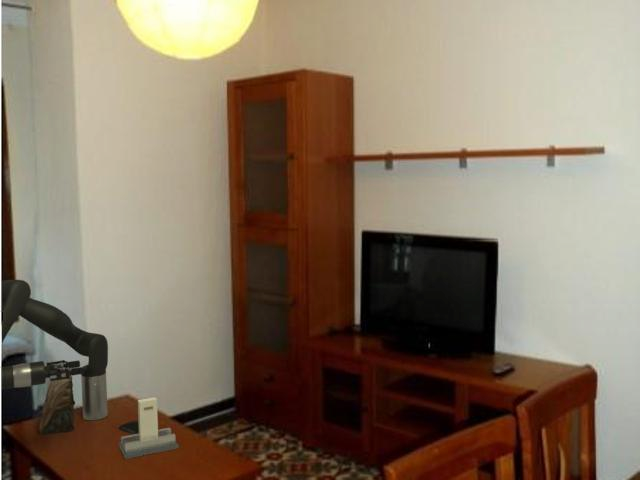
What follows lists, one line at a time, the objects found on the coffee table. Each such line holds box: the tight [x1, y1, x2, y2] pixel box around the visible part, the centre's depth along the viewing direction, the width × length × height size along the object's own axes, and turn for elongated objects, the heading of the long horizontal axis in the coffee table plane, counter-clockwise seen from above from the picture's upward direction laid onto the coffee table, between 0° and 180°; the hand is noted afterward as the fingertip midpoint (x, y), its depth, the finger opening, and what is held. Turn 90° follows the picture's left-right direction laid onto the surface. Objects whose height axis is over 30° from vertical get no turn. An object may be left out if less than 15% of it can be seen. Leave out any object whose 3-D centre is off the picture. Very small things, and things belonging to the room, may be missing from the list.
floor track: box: [118, 427, 180, 460], centre depth 217 cm, size 12×18×4 cm, turn 118°
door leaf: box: [137, 397, 159, 440], centre depth 216 cm, size 3×6×16 cm, turn 119°
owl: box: [39, 375, 76, 436], centre depth 234 cm, size 13×13×20 cm
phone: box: [118, 420, 139, 435], centre depth 232 cm, size 8×1×15 cm
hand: (81, 366), depth 211 cm, fingers open, 8 cm apart
